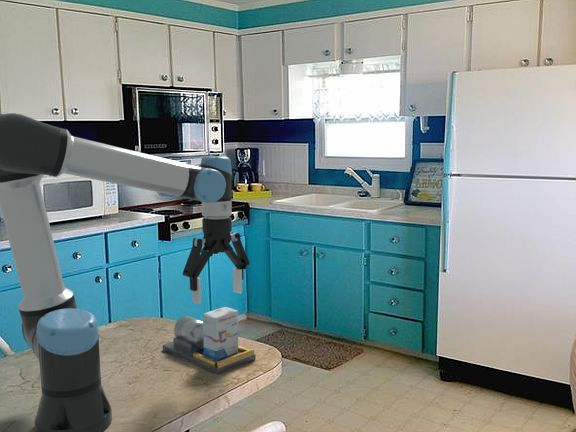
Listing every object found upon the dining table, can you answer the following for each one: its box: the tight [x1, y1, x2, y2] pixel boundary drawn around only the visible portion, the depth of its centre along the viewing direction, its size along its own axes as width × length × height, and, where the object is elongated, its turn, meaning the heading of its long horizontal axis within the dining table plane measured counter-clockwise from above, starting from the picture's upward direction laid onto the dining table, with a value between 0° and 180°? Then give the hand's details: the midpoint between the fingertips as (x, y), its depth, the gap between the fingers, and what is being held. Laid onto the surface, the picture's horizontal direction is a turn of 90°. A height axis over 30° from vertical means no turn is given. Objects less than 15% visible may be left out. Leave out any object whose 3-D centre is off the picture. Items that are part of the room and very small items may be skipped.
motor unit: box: [162, 315, 257, 375], centre depth 161 cm, size 13×24×8 cm, turn 46°
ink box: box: [202, 306, 239, 361], centre depth 157 cm, size 9×5×12 cm, turn 141°
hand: (217, 297), depth 155 cm, fingers open, 13 cm apart
